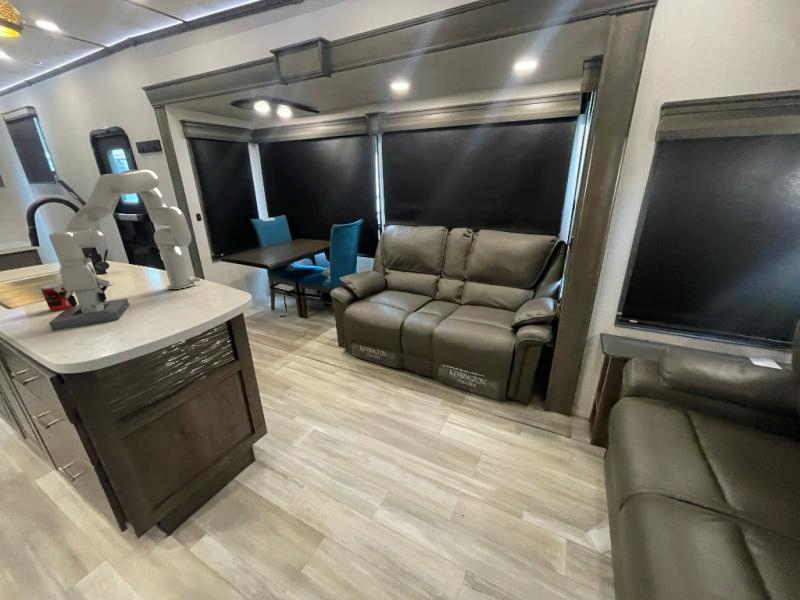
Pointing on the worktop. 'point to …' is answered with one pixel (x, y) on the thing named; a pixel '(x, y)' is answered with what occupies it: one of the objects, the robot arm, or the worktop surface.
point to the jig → (89, 315)
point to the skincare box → (89, 301)
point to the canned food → (55, 298)
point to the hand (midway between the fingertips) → (89, 303)
